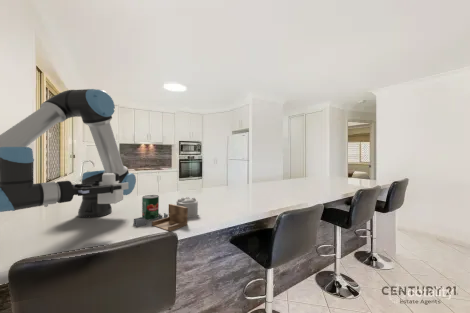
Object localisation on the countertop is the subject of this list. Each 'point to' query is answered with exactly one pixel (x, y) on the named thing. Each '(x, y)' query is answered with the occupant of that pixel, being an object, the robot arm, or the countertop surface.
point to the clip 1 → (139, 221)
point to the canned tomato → (150, 207)
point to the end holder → (173, 218)
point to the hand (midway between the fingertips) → (121, 184)
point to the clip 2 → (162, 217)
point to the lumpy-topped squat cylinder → (189, 205)
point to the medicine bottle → (116, 195)
